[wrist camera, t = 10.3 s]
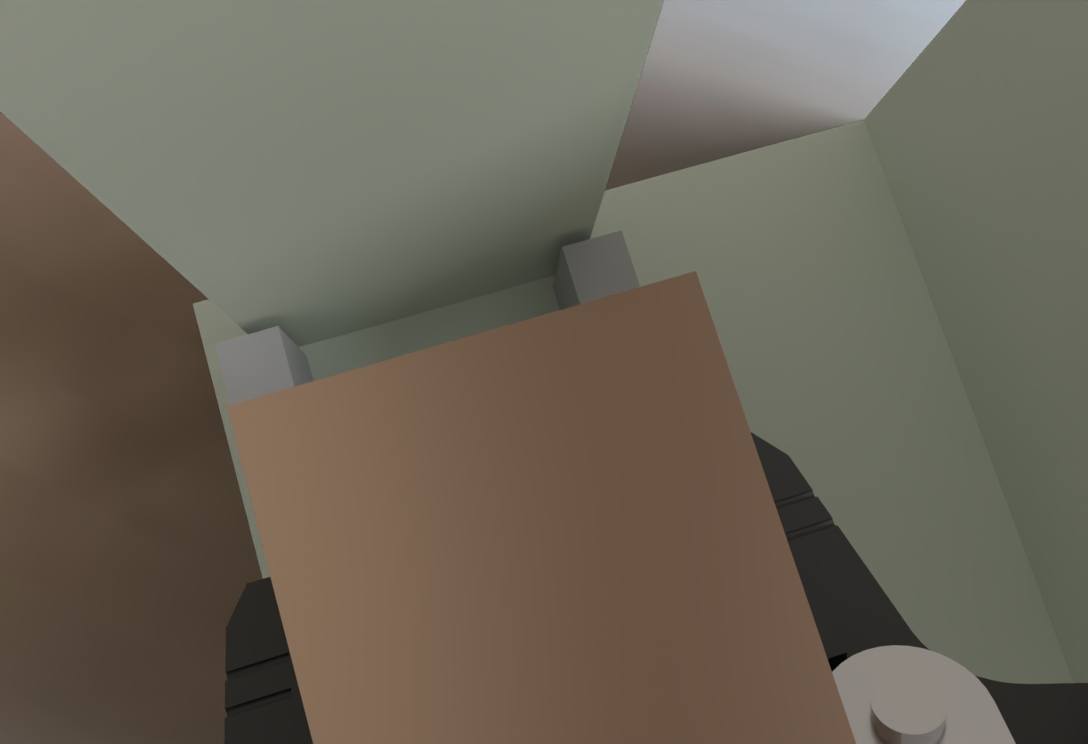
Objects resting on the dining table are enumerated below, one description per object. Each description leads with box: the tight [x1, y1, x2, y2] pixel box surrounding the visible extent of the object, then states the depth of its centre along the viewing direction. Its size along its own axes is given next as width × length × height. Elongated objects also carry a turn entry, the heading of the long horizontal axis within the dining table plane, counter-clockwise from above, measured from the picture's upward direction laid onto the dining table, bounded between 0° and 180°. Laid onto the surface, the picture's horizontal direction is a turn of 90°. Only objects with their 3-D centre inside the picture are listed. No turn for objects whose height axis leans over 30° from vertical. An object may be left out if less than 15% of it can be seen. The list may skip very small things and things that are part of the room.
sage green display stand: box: [0, 0, 1088, 684], centre depth 13 cm, size 14×15×13 cm
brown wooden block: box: [227, 271, 856, 744], centre depth 10 cm, size 3×6×9 cm, turn 17°
